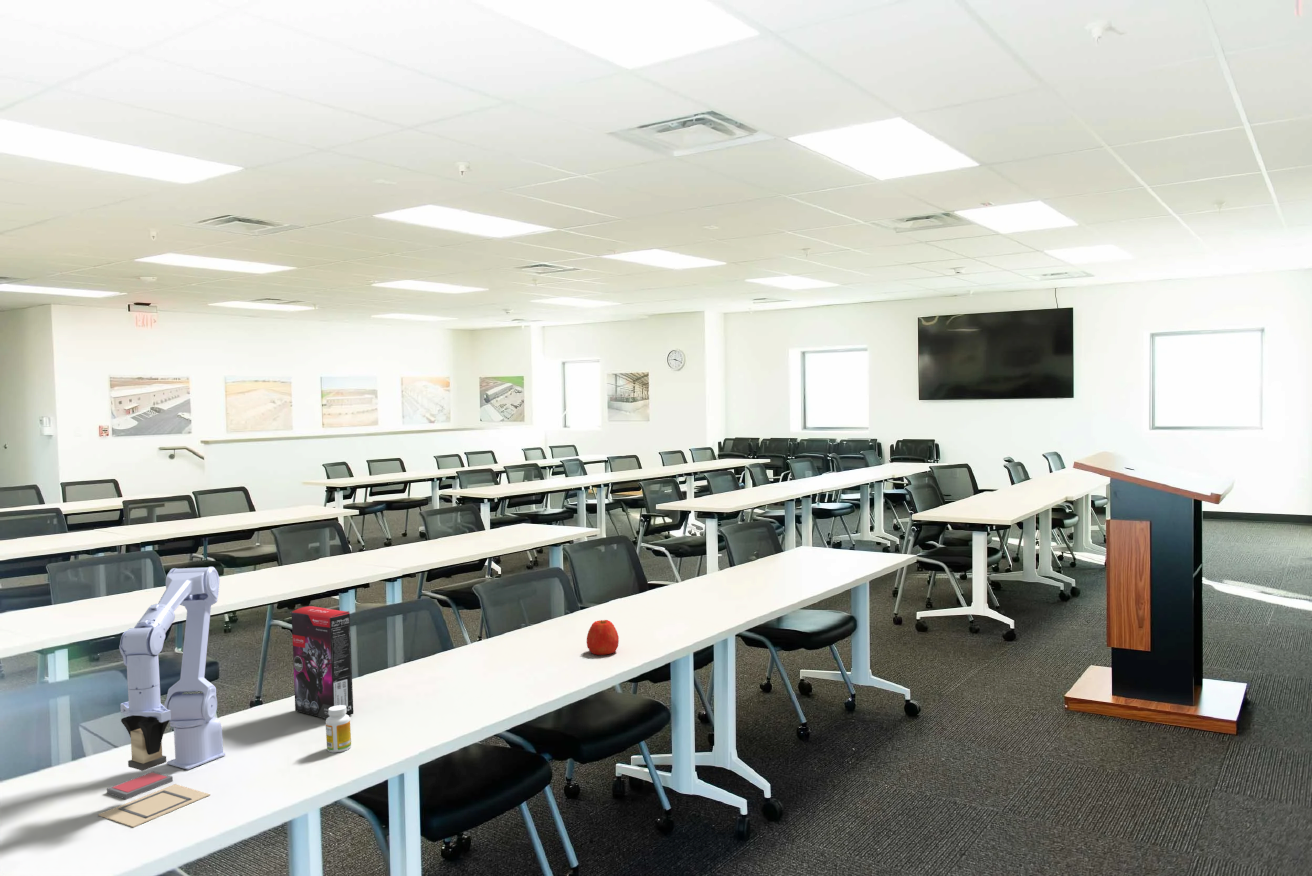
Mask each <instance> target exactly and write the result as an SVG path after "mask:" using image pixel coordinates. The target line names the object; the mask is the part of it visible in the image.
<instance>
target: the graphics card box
mask: <svg viewBox="0 0 1312 876" xmlns="http://www.w3.org/2000/svg"><path fill="white" fill-rule="evenodd" d="M350 615H351V613H350V611H349V610H348V611H346V610H338V609H331V608H326V607H320V606H313V605H309V606H302V607H299V608H297V609H295V610H292V611H291V630H292V631H291V632H292V634H291V635H292V656H293V660H292V661H293V681H294V682H293V683H294V709H295V710H294V711H295V712H299V713H302V714H307V715H309V716H310V715H311V716H315V717H319V718H322V719H325V720H326V719H327V718H328V717H330V716H329V714H328V709H329V708H330V707H333V706H337V705H344V706H346V710H347V711H346V715H348V716H349V717H350V716H351V715H354V694H353V668H352V666H353V665H352V664H353V663H352V641H351V640H352V639H351V620H350V619H351V617H350Z"/></svg>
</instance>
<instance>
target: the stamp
mask: <svg viewBox="0 0 1312 876" xmlns="http://www.w3.org/2000/svg"><path fill="white" fill-rule="evenodd" d="M130 732H131V738H130V745H131V746H130V747H131V749H130V750H131V759H129V760H127V765H128V768H131V769H135V770H139V771H142V772H143V771H146V770H149V769H152V768H155V767H157V766H159V765H162V764H165V763H167V756H166V755H163V742H161V746H160V750H159V752H156V753H154V754H151V755H149V754H148V753H147V750H146V745H145V739H144V735H143V732H142V730H141V728H140V729H137V730H134V731H130Z"/></svg>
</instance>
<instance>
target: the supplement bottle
mask: <svg viewBox="0 0 1312 876" xmlns="http://www.w3.org/2000/svg"><path fill="white" fill-rule="evenodd" d="M346 711H347V710H346V706H344V705H337V706H333V707H330V708H329V709H328V714H329V716H330V717H328V718H327V719H326V718H325V734H326V735H325V737H326V738H325V739H326V750H327V752H329V753H342V752H345V751H346V752H347V750H349V749H350V748H351V747H352V736H351V735H352V733H351V730H352V729H351V717H350V715H349V716H348V715H346Z"/></svg>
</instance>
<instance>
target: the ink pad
mask: <svg viewBox="0 0 1312 876" xmlns="http://www.w3.org/2000/svg"><path fill="white" fill-rule="evenodd" d="M173 781H174V780H173V776H172V775H168V774H165V773H161V772H158V771H154V770H152V771H150V772H147V773H144V774H142V775H139V776H137V777H133V778H132V779H128V780H126V781H123V782H120V783H118V784H115V785H112V786H110V787H107V788H106V793H107V794H108V795H113V796H115V797H118V798H121V799H124V800H128V799H130V798H131V799H132V798H133V797H136V796H138V795H141V794H143V793H146V792H149V791H151V790H154V789H156V788H159V787H161V786H163V785H167V784H169V783H171V782H173Z"/></svg>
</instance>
